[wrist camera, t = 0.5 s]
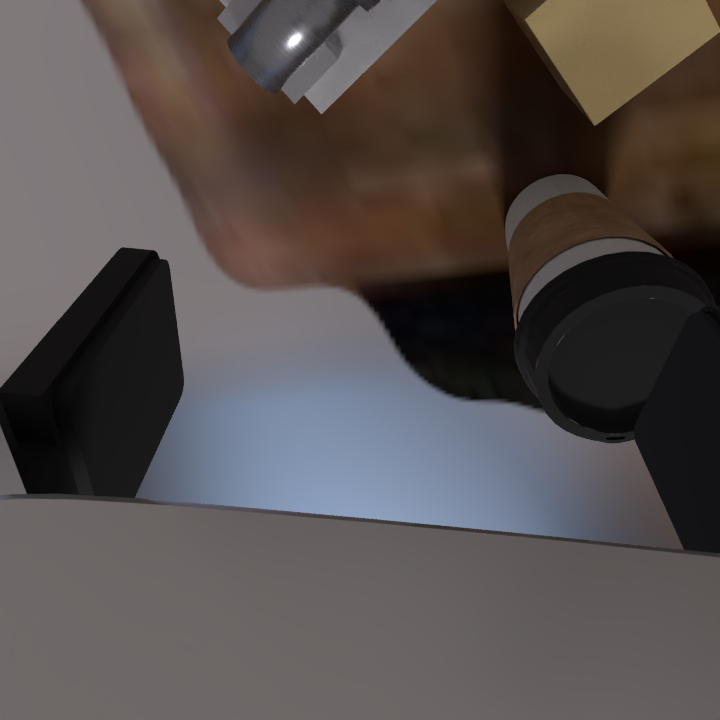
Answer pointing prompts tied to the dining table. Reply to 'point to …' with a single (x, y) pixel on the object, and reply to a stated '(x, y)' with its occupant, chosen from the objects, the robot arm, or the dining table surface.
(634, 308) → the coffee cup
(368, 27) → the shaft bench
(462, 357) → the dining table surface
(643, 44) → the tan wooden cube
